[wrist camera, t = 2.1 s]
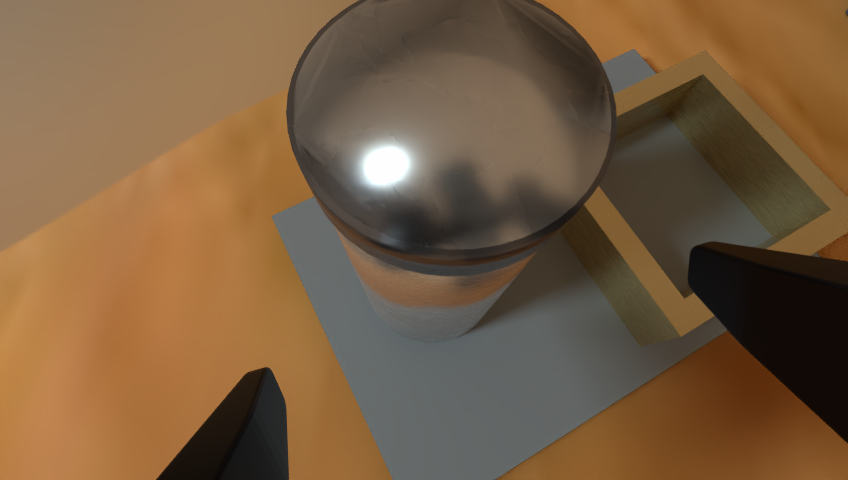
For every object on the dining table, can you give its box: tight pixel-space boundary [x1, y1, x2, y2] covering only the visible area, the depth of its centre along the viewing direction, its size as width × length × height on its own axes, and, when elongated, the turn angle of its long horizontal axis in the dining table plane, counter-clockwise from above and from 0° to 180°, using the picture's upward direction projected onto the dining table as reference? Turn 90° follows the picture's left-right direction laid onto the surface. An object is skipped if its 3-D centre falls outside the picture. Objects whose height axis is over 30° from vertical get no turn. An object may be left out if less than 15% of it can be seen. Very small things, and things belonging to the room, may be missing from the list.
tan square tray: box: [560, 51, 848, 347], centre depth 19 cm, size 10×10×3 cm
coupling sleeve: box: [286, 0, 617, 343], centre depth 13 cm, size 6×6×12 cm
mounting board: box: [272, 49, 821, 480], centre depth 20 cm, size 14×21×1 cm, turn 119°
